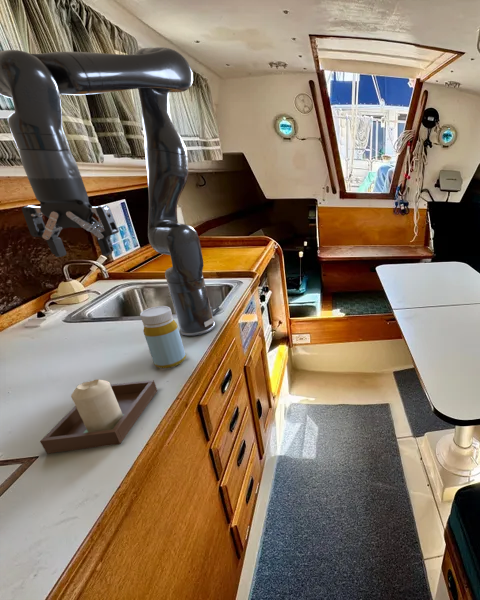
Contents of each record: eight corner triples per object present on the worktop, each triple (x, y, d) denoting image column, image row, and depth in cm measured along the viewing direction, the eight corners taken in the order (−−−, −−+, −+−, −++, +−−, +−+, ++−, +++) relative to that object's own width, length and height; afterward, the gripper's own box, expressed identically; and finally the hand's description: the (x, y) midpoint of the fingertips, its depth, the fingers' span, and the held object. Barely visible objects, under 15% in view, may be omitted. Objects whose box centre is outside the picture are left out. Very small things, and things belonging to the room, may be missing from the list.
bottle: (151, 372, 81) (134, 319, 75) (158, 357, 87) (142, 307, 81) (184, 366, 84) (169, 314, 78) (188, 352, 90) (174, 303, 84)
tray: (99, 396, 73) (94, 385, 71) (157, 390, 75) (154, 380, 74) (46, 453, 59) (39, 441, 57) (120, 444, 61) (114, 431, 60)
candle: (121, 409, 68) (105, 370, 64) (125, 424, 65) (108, 384, 60) (86, 423, 65) (67, 382, 60) (88, 439, 61) (68, 397, 57)
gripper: (108, 175, 68) (131, 250, 75) (26, 173, 65) (58, 251, 72) (85, 177, 61) (113, 259, 68) (-8, 175, 58) (31, 261, 65)
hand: (84, 255), depth 70 cm, fingers open, 8 cm apart
